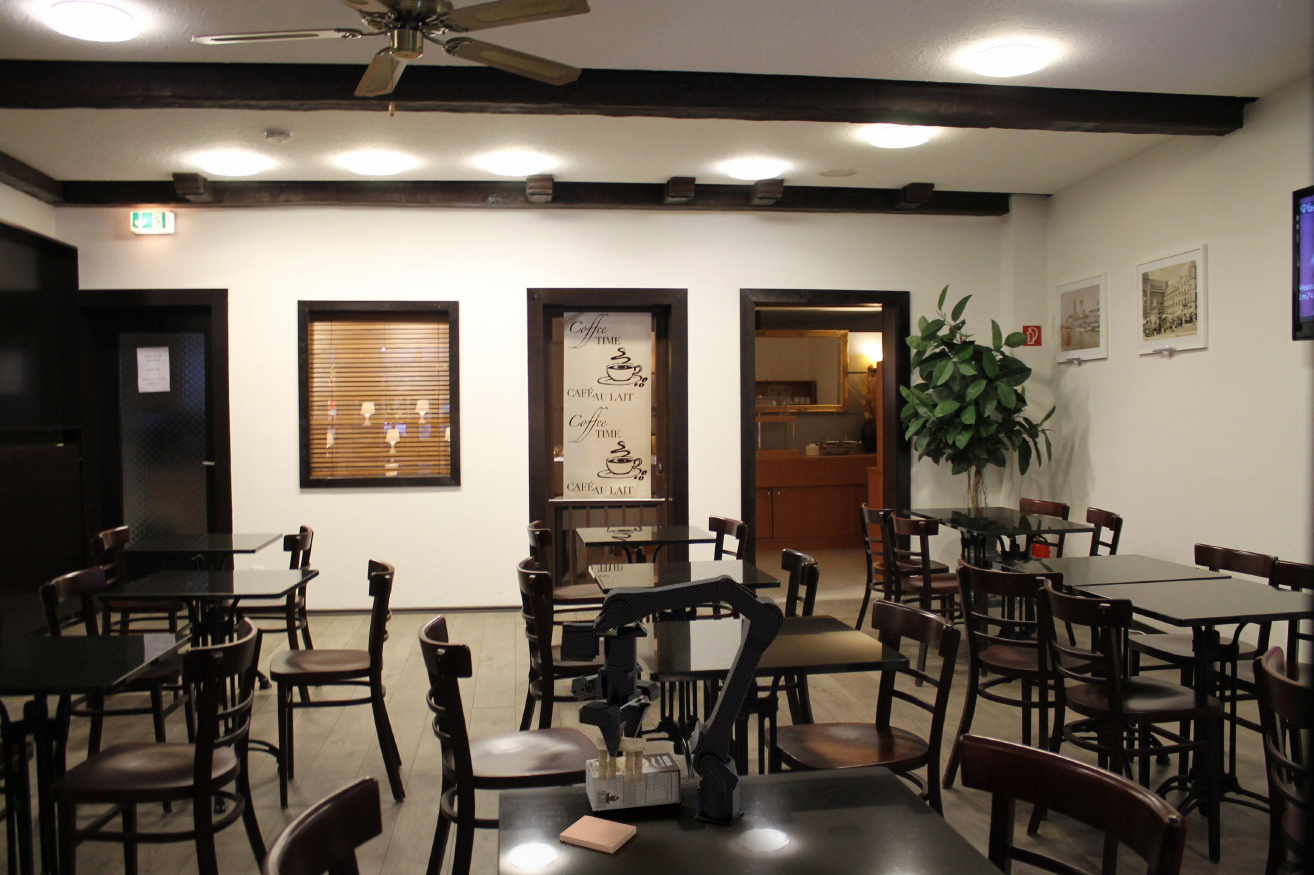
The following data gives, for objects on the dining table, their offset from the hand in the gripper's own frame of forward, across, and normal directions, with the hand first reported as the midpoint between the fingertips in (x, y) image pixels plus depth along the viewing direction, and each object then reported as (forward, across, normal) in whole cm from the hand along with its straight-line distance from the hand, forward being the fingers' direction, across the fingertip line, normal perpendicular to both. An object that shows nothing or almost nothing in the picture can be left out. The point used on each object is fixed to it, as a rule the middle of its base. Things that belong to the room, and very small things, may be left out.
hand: (620, 751), depth 155 cm
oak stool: (+4, +2, +1) cm, 5 cm away
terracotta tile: (+12, +8, 0) cm, 14 cm away
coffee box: (+8, -3, -8) cm, 12 cm away
